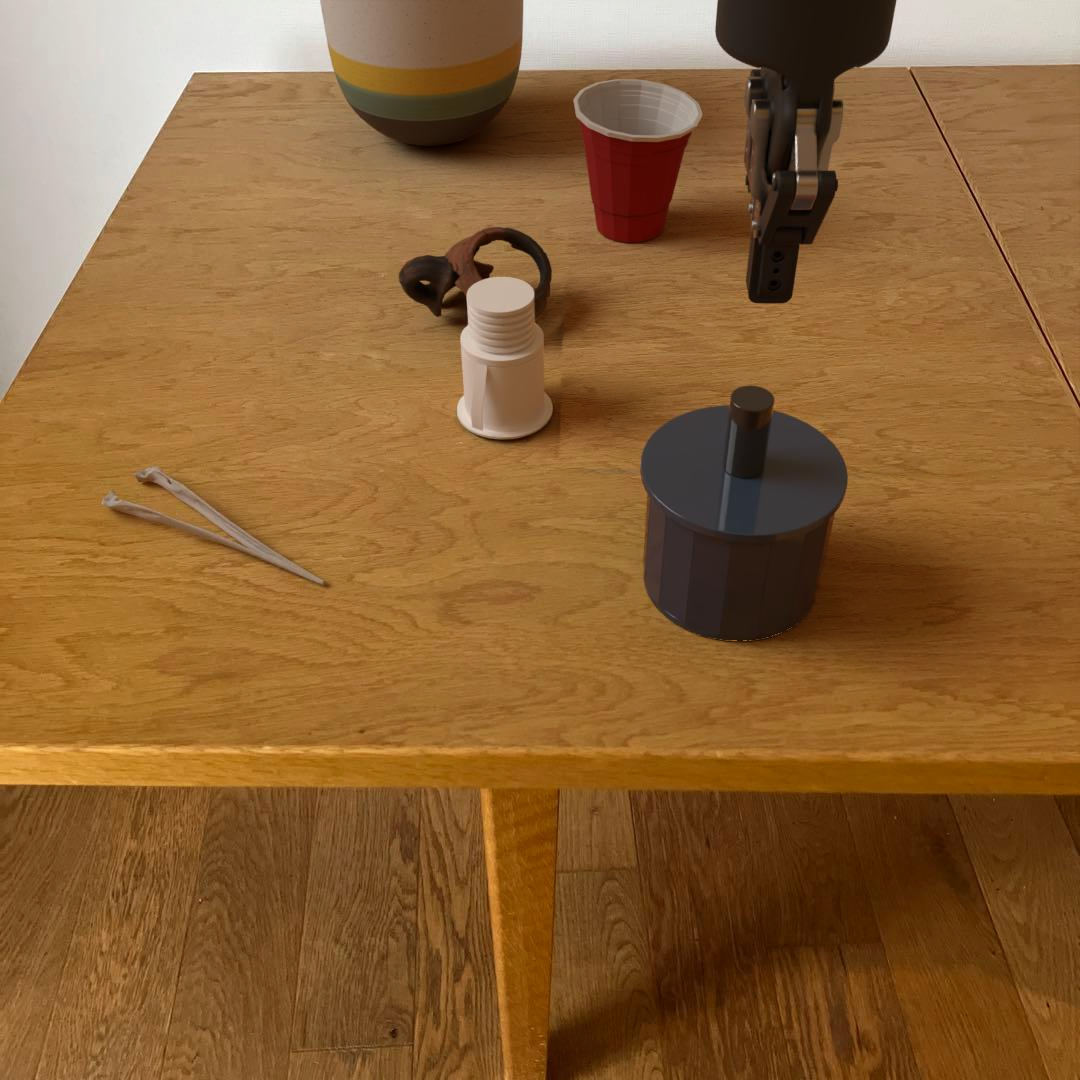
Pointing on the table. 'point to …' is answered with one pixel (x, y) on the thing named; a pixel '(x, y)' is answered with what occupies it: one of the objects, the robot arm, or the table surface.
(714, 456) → the lid
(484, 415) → the downlight
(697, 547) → the tin
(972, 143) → the table surface
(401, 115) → the planter
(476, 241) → the brown curved piece
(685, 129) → the plastic cup
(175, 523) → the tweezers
